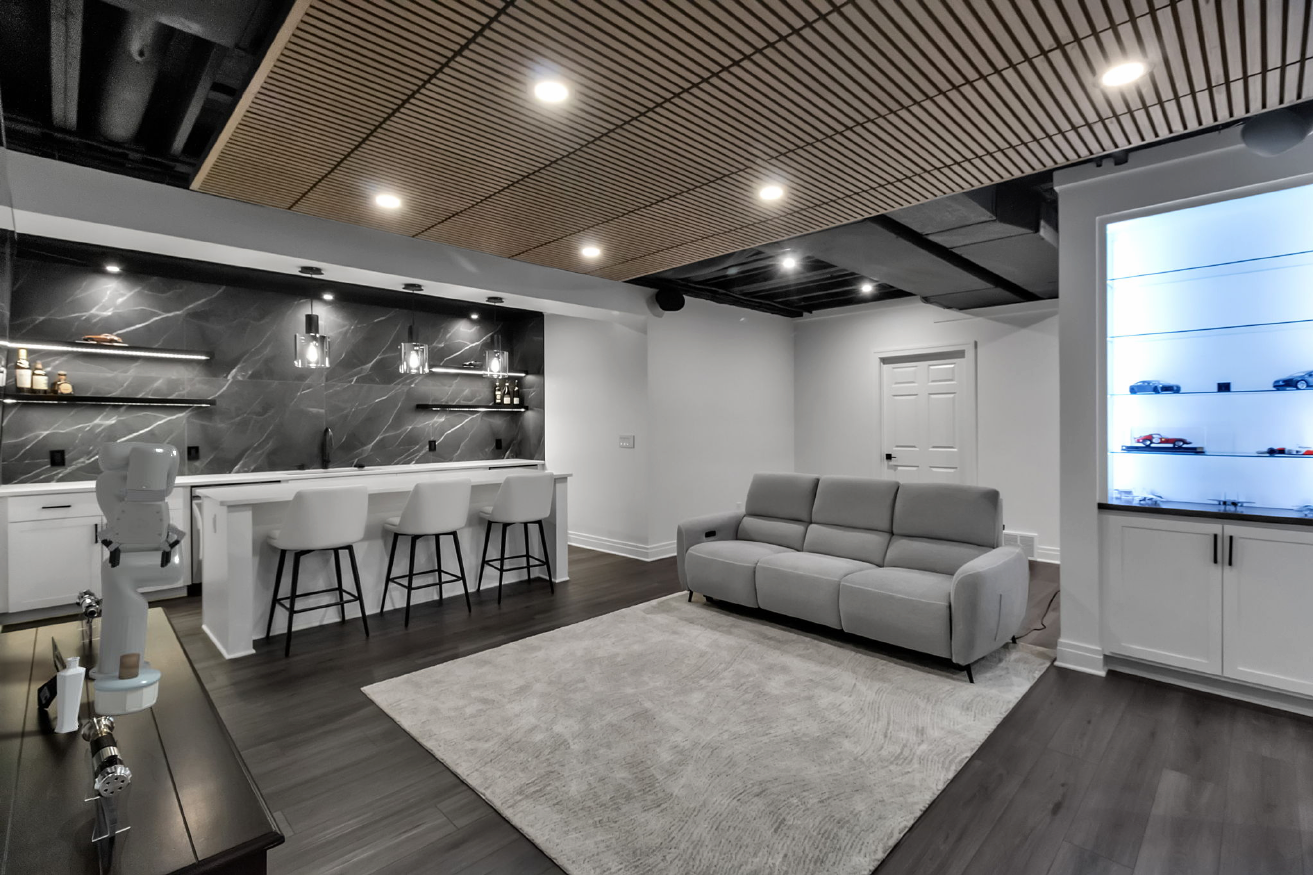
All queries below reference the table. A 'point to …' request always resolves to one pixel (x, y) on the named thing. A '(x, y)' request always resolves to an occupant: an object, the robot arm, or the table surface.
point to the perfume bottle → (69, 695)
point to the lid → (127, 676)
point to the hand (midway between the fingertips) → (139, 566)
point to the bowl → (125, 700)
